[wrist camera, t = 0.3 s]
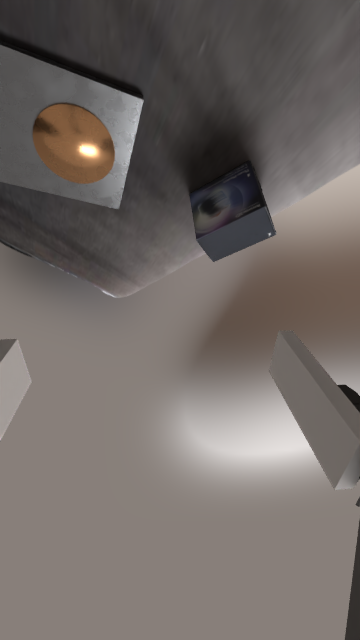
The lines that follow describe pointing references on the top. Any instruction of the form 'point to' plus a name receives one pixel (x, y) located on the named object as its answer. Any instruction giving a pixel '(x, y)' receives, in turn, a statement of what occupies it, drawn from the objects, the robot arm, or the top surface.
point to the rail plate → (64, 128)
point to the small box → (231, 213)
